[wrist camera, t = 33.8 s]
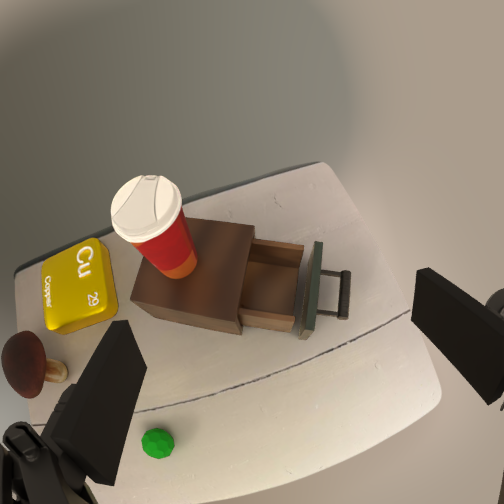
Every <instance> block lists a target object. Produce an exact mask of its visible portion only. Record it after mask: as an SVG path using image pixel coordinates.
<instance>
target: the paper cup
mask: <svg viewBox="0 0 504 504" xmlns="http://www.w3.org/2000/svg"><path fill="white" fill-rule="evenodd" d="M181 202H182V199H181V194H180V191H179V190H178V188H177V186H176V185H175V184H173V183H172V182H171V181H169V180H168V179H166V178H165V177H163V176H160V177H156V175H147V176H143V175H141V176H139V177H136V178H134V179H132V180H130V181H129V182H127V183H126V184H125V185H124V186H123V187H121V189H120V190H119V191H118V192H117V194H116V195H115V197H114V199H113V202H112V206H111V216H112V225H113V227H114V229H115V231H116V233H117V234H118V235H119V236H121V237H122V238H124V239H125V240H126V241H128V242H130V243H131V244H132V245H133V246H134V247H135V248H136V249H137V250H138V251H139V252H140V253H141V254H142V255H143V256H145V257H146V258H147V259H148V260H149V261H150V262H151V263H152V264H153V265H154V266H155V267H156V268H157V269H158V270H159V271H160V272H162V273H163V274H164V275H165V276H167V277H169V278H172V279H180V278H183V277H186V276H187V275H189V274H190V273H191V272H192V271H193V270H194V268H195V267H196V264H197V252H196V249H195V245H194V242H193V239H192V236H191V233H190V230H189V227H188V225H187V222H186V219H185V216H184V213H183V210H182V207H181Z"/></svg>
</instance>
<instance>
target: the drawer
mask: <svg viewBox="0 0 504 504" xmlns="http://www.w3.org/2000/svg"><path fill="white" fill-rule="evenodd" d="M322 249H323V242H317V241H315V242H314V245H313V249H312V252H311V255H310V259H309V262H308V267H307V276H306V285H305V293H304V301H303V309H302V316H301V324H300V331H299V338H298V339H301V340H307V338H308V337H309V336H310V335H311V334H312V333H313V331H314V329H315V321H316V314H317V315H325V316H333V317H337V319H340V320H347V319H348V316H349V303H350V287H351V272H350V271H347V270H343V271H341V272H335V271H328V270H321V262H322ZM303 251H304V245H297V244H290V243H283V242H275V241H268V240H261V239H254V238H253V240H252V245H251V250H250V255H249V260H248V265H247V270H246V275H245V280H244V285H243V290H242V295H241V300H240V305H239V309H238V314H237V318H238V321H239V323H240V325H245V326H251V327H257V328H263V329H270V330H276V331H283V332H290V331H291V329H292V327H293V325H294V322H295V316H293V311H294V304H295V296H296V289H297V281H298V273H299V267H300V263H301V259H302V255H303ZM320 275H327V276H334V277H340V289H339V302H338V312H334V311H326V310H318V309H317V303H318V294H319V284H320Z"/></svg>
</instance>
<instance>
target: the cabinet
mask: <svg viewBox="0 0 504 504" xmlns="http://www.w3.org/2000/svg"><path fill="white" fill-rule="evenodd" d="M185 219H186V222H187V225H188V227H189V230H190V233H191V236H192V239H193V242H194V245H195V249H196V252H197V264H196V267H195V268H194V270H193V271H192V272H191V273H190V274H189V275H187V276H186V277H183V278H180V279H172V278H169V277H167V276H165V275H164V274H163V273H162V272H160V271H159V270H158V269H157V268H156V267H155V266H154V265H153V264H152V263H151V262H150V261H149V260H148V259H147V258H146V257H145V256H143V259H142V262H141V265H140V268H139V271H138V275H137V278H136V281H135V284H134V287H133V290H132V294H131V297H130V300H131V301H132V302H133V303H135V304H136V305H137V306H139V307H140V308H142V309H143V310H145V311H146V312H147V313H149V314H150V315H152V316H153V317H155V318H159V319H164V320H168V321H172V322H177V323H181V324H186V325H190V326H195V327H200V328H205V329H210V330H215V331H220V332H225V333H231V334H236V335H242V330H243V325H240V323H239V321H238V318H237V314H238V309H239V305H240V300H241V295H242V290H243V285H244V280H245V275H246V270H247V265H248V260H249V255H250V250H251V245H252V240H253V238H254V239H255V226H253V225H245V224H237V223H229V222H221V221H213V220H204V219H196V218H187V217H185Z"/></svg>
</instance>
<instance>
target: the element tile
mask: <svg viewBox="0 0 504 504" xmlns="http://www.w3.org/2000/svg"><path fill="white" fill-rule="evenodd" d="M41 275H42V297H43V310H44V320H45V325H46V327H47V328H48V329H49V330H51V331H54V332H56V333H59V334H62V335H65V334H68V333H71V332H74V331H77V330H79V329H82V328H85V327H88V326H91V325H93V324H96V323H99V322H102V321H104V320H107V319H110V318H112V317H113V316H114V315H115V314H116V313H117V311H118V302H117V297H116V292H115V286H114V281H113V275H112V269H111V263H110V256H109V252H108V249H107V248H106V247H105V246H104V245H103V244H102V243H101V242H100V241H99V240H98V239H97V238H90V239H88V240H86V241H83V242H81V243H79V244H77V245H75V246H73V247H71V248H69V249H67V250H64V251H62V252H60V253H58V254H56V255H54V256H52V257H50V258H48V259H47V260H46V261H45V262H44V263H43V265H42V270H41Z"/></svg>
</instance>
